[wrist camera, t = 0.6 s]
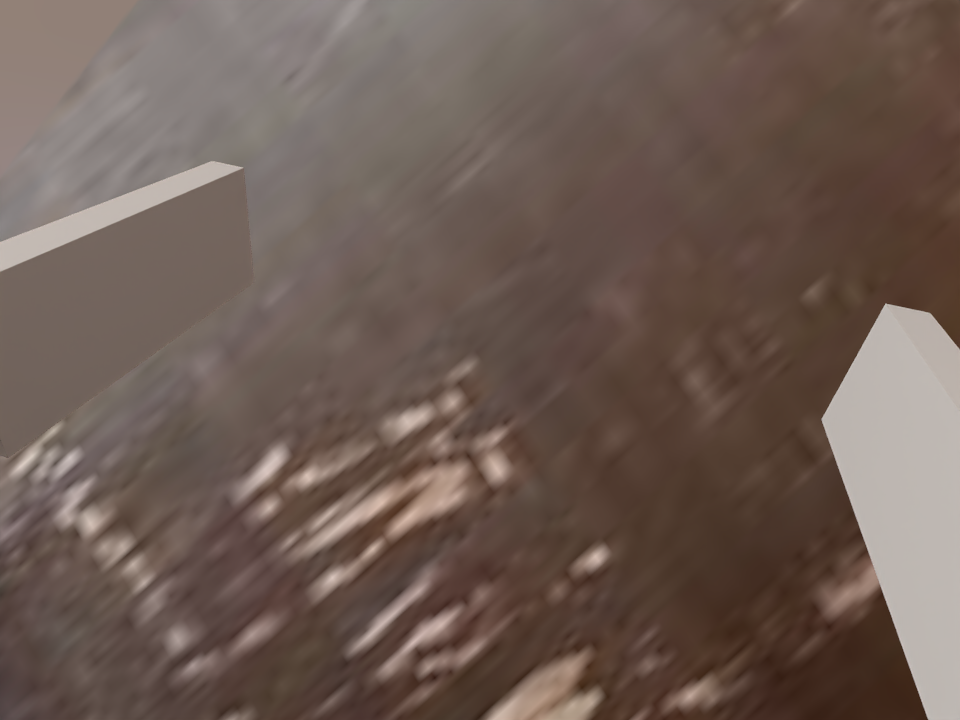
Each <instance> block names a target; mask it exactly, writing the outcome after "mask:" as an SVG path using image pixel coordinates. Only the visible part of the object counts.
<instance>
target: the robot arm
mask: <svg viewBox="0 0 960 720" xmlns="http://www.w3.org/2000/svg"><path fill="white" fill-rule="evenodd" d="M252 283H254V273H253V262H252V251H251V241H250V230H249V219H248V209H247V198H246V187H245V176H244V168H242V167H237V166H233V165H228V164H223V163H219V162H214V161H211V162H209V163H206V164H203V165H201V166H198V167H196V168H193V169H190V170H188V171H185V172H182V173H180V174H177V175H175V176H172V177H169V178H167V179H164V180H162V181H159V182H156V183H154V184H151V185H148V186H146V187H143V188H141V189H138V190H135V191H133V192H130V193H128V194H125V195H122V196H120V197H117V198H114V199H112V200H109V201H107V202H104V203H101V204H99V205H96V206H94V207H91V208H88V209H86V210H83V211H80V212H78V213H75V214H73V215H70V216H67V217H65V218H62V219H60V220H57V221H54V222H52V223H49V224H46V225H44V226H41V227H39V228H36V229H33V230H31V231H28V232H26V233H23V234H20V235H18V236H15V237H12V238H10V239H7V240H5V241H2V242H0V456H4V457H7V458H9V457H10V456H12V455H13V454H14V453H16V452H17V451H19V450H20V449H21V448H23V447H24V446H26V445H27V444H28V443H30V442H31V441H33V440H34V439H35V438H37V437H38V436H40V435H41V434H42V433H44V432H45V431H47V430H48V429H49V428H51V427H52V426H54V425H55V424H56V423H58V422H59V421H61V420H62V419H63V418H65V417H66V416H68V415H69V414H70V413H72V412H73V411H75V410H76V409H77V408H79V407H80V406H82V405H83V404H84V403H86V402H87V401H89V400H90V399H91V398H93V397H94V396H96V395H97V394H98V393H100V392H101V391H103V390H104V389H105V388H107V387H108V386H110V385H111V384H112V383H114V382H115V381H117V380H118V379H119V378H121V377H122V376H124V375H125V374H126V373H128V372H129V371H131V370H132V369H133V368H135V367H136V366H138V365H139V364H140V363H142V362H143V361H145V360H146V359H147V358H149V357H150V356H152V355H153V354H154V353H156V352H157V351H159V350H160V349H161V348H163V347H164V346H166V345H167V344H168V343H170V342H171V341H173V340H174V339H175V338H177V337H178V336H180V335H181V334H182V333H184V332H185V331H187V330H188V329H189V328H191V327H192V326H194V325H195V324H196V323H198V322H199V321H201V320H202V319H203V318H205V317H206V316H208V315H209V314H210V313H212V312H213V311H215V310H216V309H217V308H219V307H220V306H222V305H223V304H224V303H226V302H227V301H229V300H230V299H231V298H233V297H234V296H236V295H237V294H238V293H240V292H241V291H243V290H244V289H245V288H247V287H248V286H250V285H251V284H252ZM822 423H823V425H824V428H825V431H826V434H827V437H828V439H829V442H830V445H831V448H832V451H833V453H834V456H835V459H836V462H837V465H838V468H839V470H840V473H841V476H842V479H843V482H844V484H845V487H846V490H847V493H848V496H849V498H850V501H851V504H852V507H853V510H854V512H855V515H856V518H857V521H858V524H859V527H860V529H861V532H862V535H863V538H864V541H865V543H866V546H867V549H868V552H869V555H870V557H871V560H872V563H873V566H874V569H875V572H876V574H877V577H878V580H879V583H880V586H881V588H882V591H883V594H884V597H885V600H886V602H887V605H888V608H889V611H890V614H891V616H892V619H893V622H894V625H895V628H896V631H897V633H898V636H899V639H900V642H901V645H902V647H903V650H904V653H905V656H906V659H907V661H908V664H909V667H910V670H911V673H912V675H913V678H914V681H915V684H916V687H917V690H918V692H919V695H920V698H921V701H922V704H923V706H924V709H925V712H926V715H927V718H928V720H960V350H959V348H958V347H957V346H956V345H955V343H954V342H953V341H952V340H951V338H950V337H949V336H948V335H947V333H946V332H945V331H944V330H943V328H942V327H941V326H940V325H939V324H938V322H937V321H936V320H935V319H934V317H933V316H932V315H931V314H930V313H927V312H922V311H918V310H913V309H908V308H904V307H899V306H894V305H889V304H885V306H884V308H883V309H882V311H881V313H880V315H879V317H878V318H877V320H876V322H875V324H874V326H873V327H872V329H871V331H870V333H869V335H868V336H867V338H866V340H865V342H864V344H863V345H862V347H861V349H860V351H859V353H858V355H857V356H856V358H855V360H854V362H853V364H852V365H851V367H850V369H849V371H848V373H847V374H846V376H845V378H844V380H843V382H842V383H841V385H840V387H839V389H838V391H837V392H836V394H835V396H834V398H833V400H832V401H831V403H830V405H829V407H828V409H827V411H826V412H825V414H824V416H823V418H822Z"/></svg>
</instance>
